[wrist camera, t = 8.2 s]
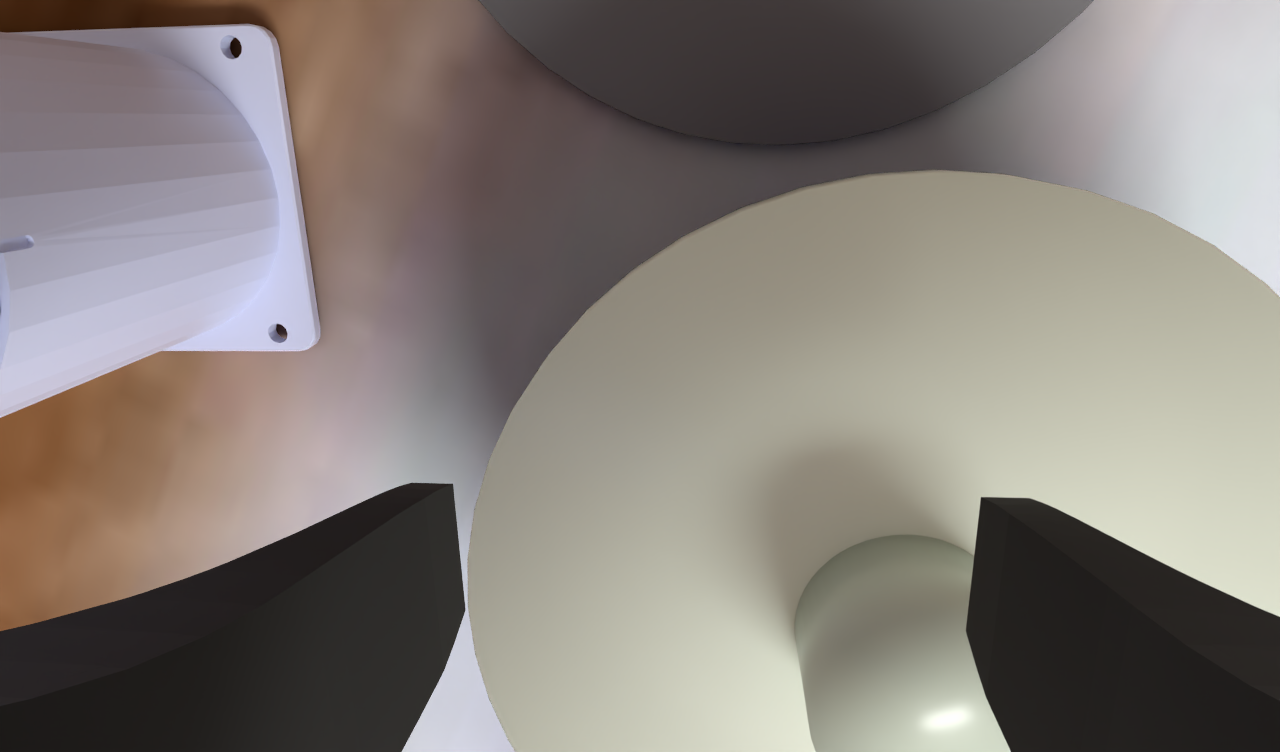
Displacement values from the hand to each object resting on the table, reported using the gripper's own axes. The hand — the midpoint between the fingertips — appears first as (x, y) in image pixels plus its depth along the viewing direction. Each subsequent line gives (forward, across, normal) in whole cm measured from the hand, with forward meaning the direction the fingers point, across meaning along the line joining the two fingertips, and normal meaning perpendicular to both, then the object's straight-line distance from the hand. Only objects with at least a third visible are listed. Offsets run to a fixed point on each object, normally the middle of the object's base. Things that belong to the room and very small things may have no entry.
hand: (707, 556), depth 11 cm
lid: (+5, -4, +4) cm, 7 cm away
